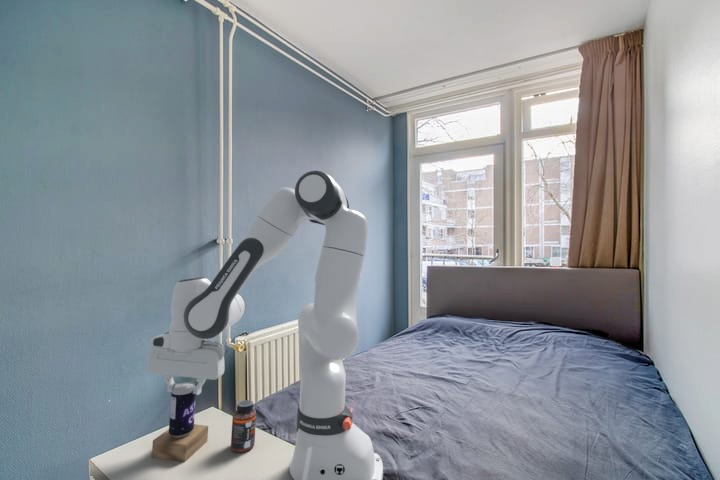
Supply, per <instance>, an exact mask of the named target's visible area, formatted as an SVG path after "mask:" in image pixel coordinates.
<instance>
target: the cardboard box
mask: <svg viewBox="0 0 720 480" xmlns="http://www.w3.org/2000/svg"><path fill="white" fill-rule="evenodd" d="M208 433H209V425H203V424H195V423H194V428H193V430H192V431H191V432H190V433H189V434H188V435H186V436H184V437H180V438H175V437H173V436H172V435H170V434H169V428H168V429H166V430H165V431H164V432H163V433H161V434H160V435H159V436H157V437H155V438H154V439H153V440H152V445H151V446H152V447H151V448H152V449H151V458H154V459H155V458H157V459H163V460H168V461H175V462H176V461H177V462H183V463H185V462H186V461H188V459H190V458H191V457H192V456H193V455H194V454H195V453H196V452H198V450H200V449H201V447H203V446H204V445H205V444H206V443H207V442H208V440H209V439H208V435H209V434H208Z"/></svg>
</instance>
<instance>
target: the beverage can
mask: <svg viewBox="0 0 720 480" xmlns="http://www.w3.org/2000/svg"><path fill="white" fill-rule="evenodd" d="M195 386H196V385H195V383H194V382H191V381H187V382H181V383H180V382H179V383H177V385H175V386H174V387H173V390H172V392H170V394H171V395H170V409H169V422H168V423H169V425H168V429H169V434H170V435H172V436H173V437H175V438H180V437H184V436H186V435H188V434H189V433H190V432H191V431H192V430H193V428H194V424H195V414H196V413H195V411H196V398H197V397H196V396H197V395H193V394H192V392H193V391H192V388H193V387H195Z"/></svg>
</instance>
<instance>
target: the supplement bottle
mask: <svg viewBox="0 0 720 480" xmlns="http://www.w3.org/2000/svg"><path fill="white" fill-rule="evenodd" d="M256 423H257V411H256V409H254V401H252V400H249V399H247V400H246V399H245V400H244V399H243V400H241V401H239V402H238V403H237V404H236V410H235V411H234V412H233V414H232V423H231V439H230V448H231V451H233V452H235V453H245V452H248V451H250V450H251V449H252V448H253V447H254V446H255V442H256Z"/></svg>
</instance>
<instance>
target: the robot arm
mask: <svg viewBox="0 0 720 480" xmlns="http://www.w3.org/2000/svg"><path fill="white" fill-rule="evenodd" d="M344 193H345V192H344V191H343V188H342V187H341V186H340V185H339V184H338V183H337V182H336V180H335V179H334V178H333V177H332V176H331V175H329V173H328V174H327V173H326V172H323V171H322V170H321V171H320V170H310V171H307V172H305V173H304V174H302V175H300V177H299V178H298V179H297V182H296V183H295V187H294V188H291V187H287V186H286V187H280V188H278V189H277V190H275V191H274V193H273V194H272V195H271V196H270V197H269V198H267V200H266V202H265V203H264V204H263V206H261V208H260V210H259V211H258V213H257V215H256V216H255V218H254V219H253V220H252V222H251V224H250V226H249V228H247V231H246V233H245V234H244V236H243V237H242V239H241V240H240V242H239V244H238V245H237V247H236V249H234V251H233V252H232V253H231V255H230V256H229V258H228V259H227V260H226V261H225V263H224V265H223V266H222V267H221V268H220V270H219V271H218V272H217V274H216V276H215V277H214V278H213V280H212V282H211V281H210V280H209V279H208V277H203V276H201V277H200V276H199V277H192V278H185V279H182V280H179V281H178V282H177V283H176V284H175V285H174V288H173V290H172V291H173V292H172V297H171V305H170V314H171V323H170V326H169V330H168V332H165V333H163V334H159V335H156V336H154V337H151V338H150V339H149V345H150V346H151V347H150V348H149V350H148V354H147V359H146V370H147V371H148V373H149V374H154V375H163V380H164V382H165V384H166V385H167V388H166V389H167V390H166V391H167V392H168V393H171V392H172V390H173V387H174V386H175V385H177V384H178V383H176V382H175V380H174V377H181V378H182V377H183V378H193V379H196V383H197V384H196V385H195V387H193V388H192V391H193V392H192V394H193V395H196V396H199V395H201V393H202V391H203V389H202V388H203V386H204V384H205V382H206V380H211V381H214V380H217V379H219V378H221V377H222V376H223V375H224V373H225V370H226V369H225V346H224V345H223V344H222V343H221V342H220V341H217V340H216V341H211V340H209V339H214V338H215V337H217V336H218V335H219V334H221V333H222V332H223V331H225V330H226V329H228V328H230V327H232V326H233V325H235V324H236V323H238V322H240V321H241V319H243V317H244V315H245V312H246V303H245V300H244V298H243V297H242V295H240V293H239V292H240V291H241V289H242V288H243V286H244V285H245V283H246V282H247V281H248V279H249V278H250V276H251V275H252V274H253V273H254V272H255V271H256V270H257V269H258V268H260V267H261V266H262V265H264V264H266V263H268V262H269V261H271V260H274V259H275V258H277V257H278V256H280V255H281V253H282V252H283V251H284V250H285V249H286V247H287V246H288V245H289V244H290V242H291V241H292V239H293V238H294V235H295V234H296V233H297V230H298V229H299V228H300V226H301V225H302V224H303V223H305V222H306V221H309V222H310V223H312V224H318V225H322V226H324V228H325V233H324V234H325V235H324V240H323V243H322V246H321V249H320V250H321V251H320V255H319V259H318V263H317V268H316V270H315V271H316V272H315V276H314V282H315V286H314V287H315V288H314V298H313V299H314V301H313V302H311V303H308V304H307V305H305V306H304V307H303V308H302V309H301V311H300V312H299V314H298V318H297V326H298V351H299V352H298V353H299V365H300V366H299V367H300V385H299V387H300V388H299V406H298V407H297V412H296V418H295V419H296V420H295V421H296V422H295V425H296V426H295V427H296V441H295V446H294V449H293V455H292V458H291V462H290V465H289V468H288V469H289V474H290V476H291V477H292V479H293V480H383V476H384V464H383V461H382V457H381V456H380V455H379V453H376V452H375V451H374V446H373V442H372V439H371V437H370V436H369V435H368V434H366V433H365V432H364V431H363V430H362V429H361V428H360V427H358V425H356V424H355V423H354V422H353V407H350V409H349V408H348V407H347V406H346V404H345V403H346V380H347V376H346V370H345V367H344V363H343V359H344V360H345V359H346V358H348V357H350V356H351V355H352V354H353V353H354V351H355V350H356V348H357V347H358V344H359V342H360V341H359V340H360V331H359V328H358V322H357V317H358V312H357V311H358V290H359V289H358V288H359V282H360V278H361V272H362V268H363V264H364V261H365V254H366V249H367V243H368V232H369V230H368V228H369V227H368V226H369V225H368V223H369V222H368V219H367V218H366V216H365V215H363V214H362V213H361V212H360V211H358V210H356V209H350V205H349V200H348V199H347V197H346V195H345V194H344Z"/></svg>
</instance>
